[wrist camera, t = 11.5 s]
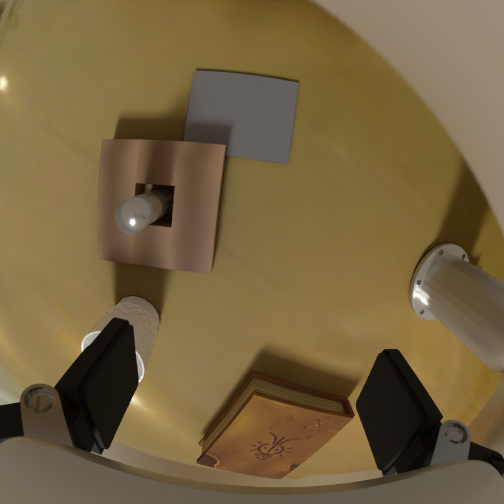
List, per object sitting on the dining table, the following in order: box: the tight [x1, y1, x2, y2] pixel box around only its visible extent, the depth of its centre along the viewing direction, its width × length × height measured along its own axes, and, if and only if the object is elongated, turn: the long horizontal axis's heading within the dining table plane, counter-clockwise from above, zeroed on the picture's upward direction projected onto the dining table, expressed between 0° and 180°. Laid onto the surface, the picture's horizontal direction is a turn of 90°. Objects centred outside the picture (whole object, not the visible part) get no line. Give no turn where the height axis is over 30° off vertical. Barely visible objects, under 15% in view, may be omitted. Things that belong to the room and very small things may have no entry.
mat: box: [183, 70, 299, 164], centre depth 29 cm, size 12×10×1 cm
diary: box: [197, 371, 355, 479], centre depth 41 cm, size 23×19×6 cm
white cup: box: [81, 296, 160, 382], centre depth 31 cm, size 8×8×10 cm
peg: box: [115, 189, 173, 234], centre depth 27 cm, size 3×3×10 cm
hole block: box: [97, 139, 227, 274], centre depth 30 cm, size 14×14×3 cm
